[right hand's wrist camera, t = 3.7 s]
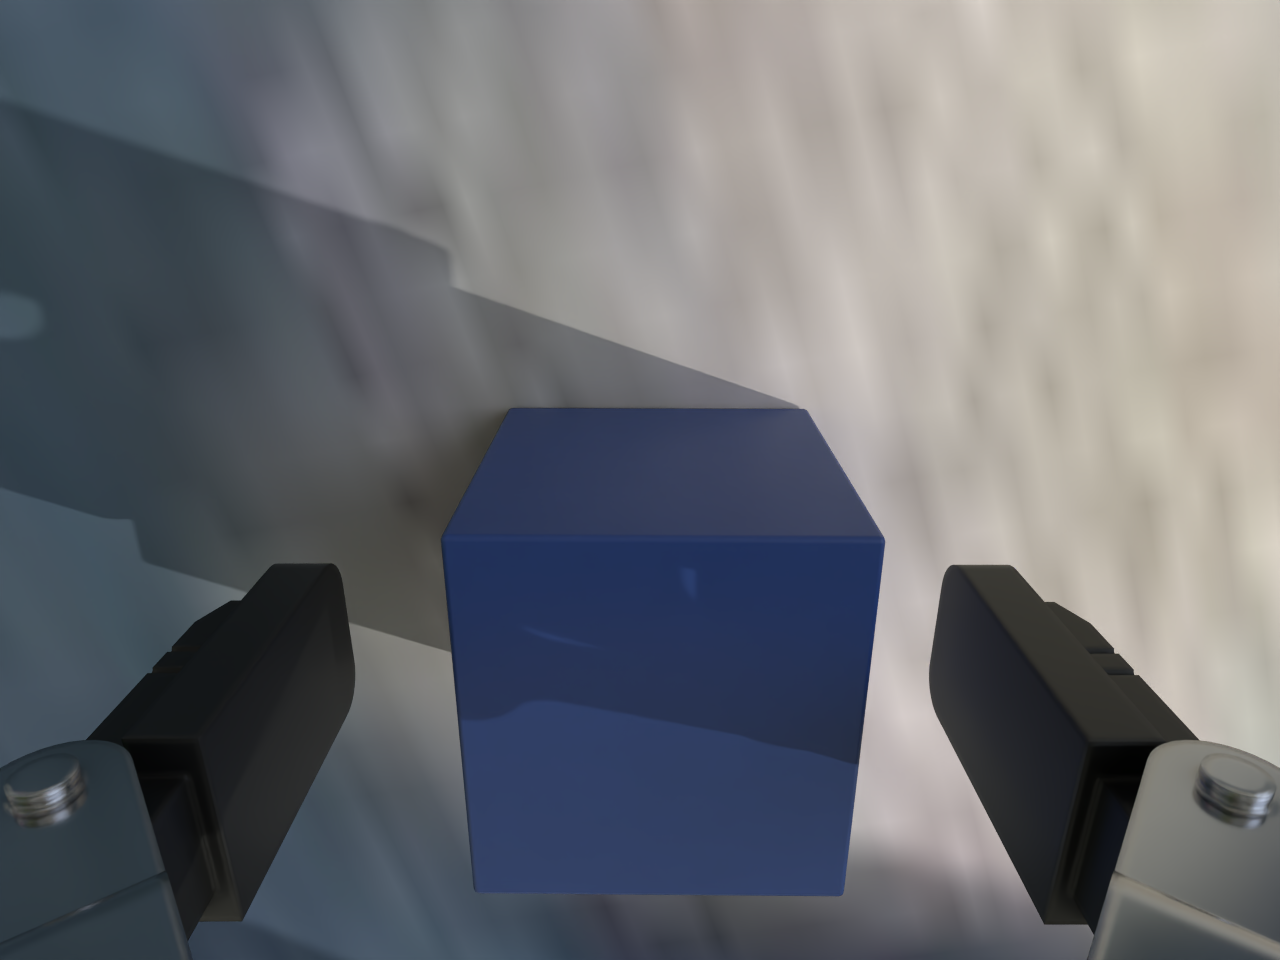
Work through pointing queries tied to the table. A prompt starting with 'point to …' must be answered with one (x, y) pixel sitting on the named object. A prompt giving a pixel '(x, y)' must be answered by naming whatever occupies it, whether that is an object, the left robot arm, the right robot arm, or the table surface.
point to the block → (661, 653)
